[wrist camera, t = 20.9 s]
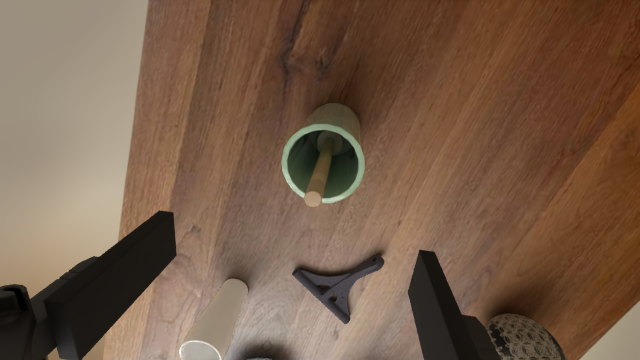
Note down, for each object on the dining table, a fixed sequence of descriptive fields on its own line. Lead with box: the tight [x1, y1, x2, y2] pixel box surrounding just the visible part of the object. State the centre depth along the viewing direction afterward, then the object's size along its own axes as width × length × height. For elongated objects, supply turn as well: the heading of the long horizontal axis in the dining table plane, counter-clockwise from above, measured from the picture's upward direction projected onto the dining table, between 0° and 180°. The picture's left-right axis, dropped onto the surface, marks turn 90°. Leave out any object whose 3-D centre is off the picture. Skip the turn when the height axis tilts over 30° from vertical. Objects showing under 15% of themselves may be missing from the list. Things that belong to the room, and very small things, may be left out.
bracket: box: [292, 254, 384, 324], centre depth 54 cm, size 14×15×3 cm
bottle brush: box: [304, 130, 344, 207], centre depth 34 cm, size 3×3×24 cm
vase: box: [281, 103, 365, 203], centre depth 39 cm, size 8×8×17 cm
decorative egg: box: [484, 313, 567, 360], centre depth 49 cm, size 12×12×15 cm
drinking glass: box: [179, 279, 248, 360], centre depth 52 cm, size 7×7×15 cm
